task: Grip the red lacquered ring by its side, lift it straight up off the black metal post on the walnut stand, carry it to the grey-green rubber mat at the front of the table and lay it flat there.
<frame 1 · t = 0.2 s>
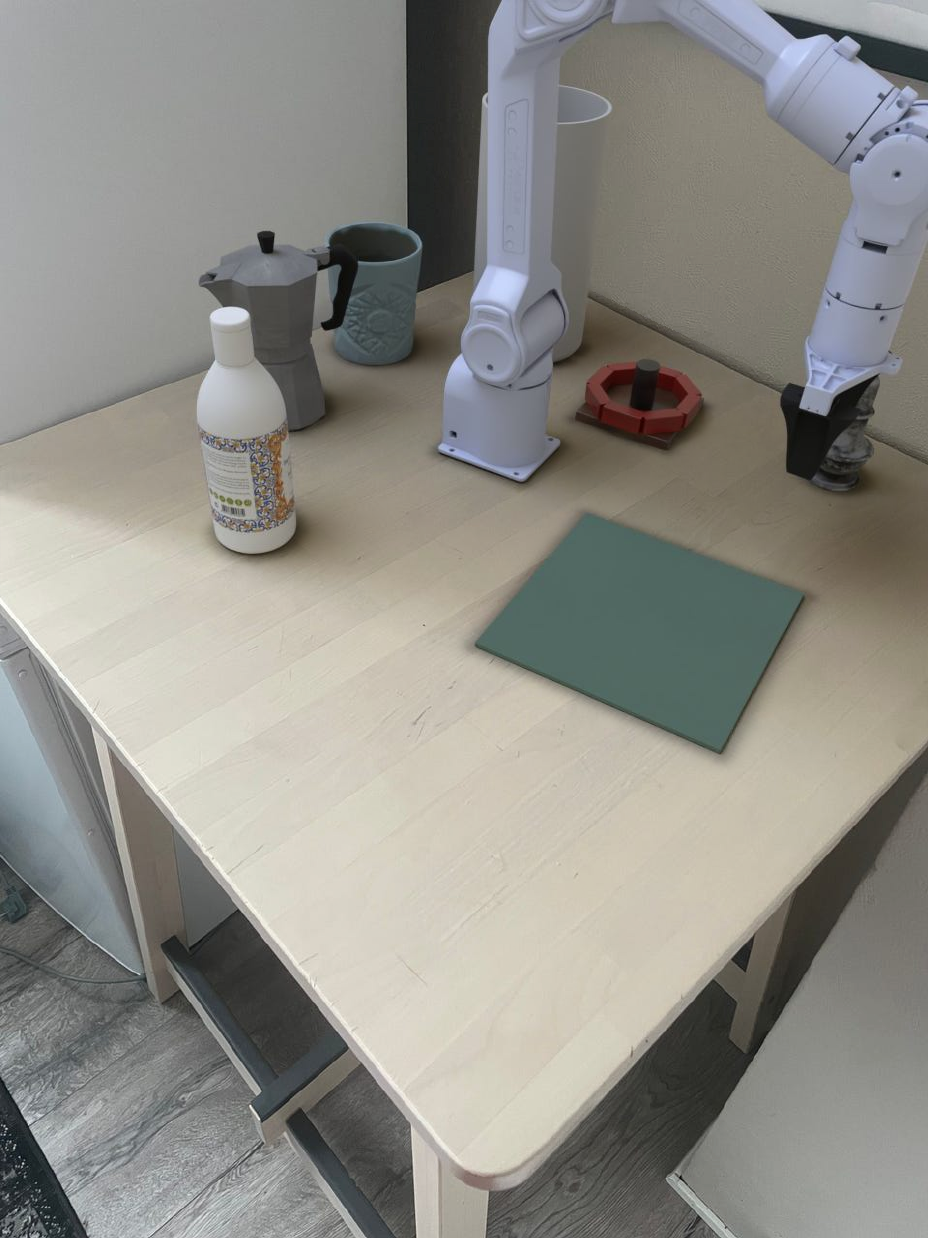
hand: (813, 451, 83), 10 cm above the table, tool pointing down, fingers open, 7 cm apart
ring: (641, 404, 105), point 1 cm above the table, touching ring holder
bath foam: (256, 533, 89), on the table
teal embossed mug: (375, 348, 114), on the table
salt shaker: (830, 477, 99), on the table
mat: (644, 620, 82), on the table
coffeepot: (292, 407, 104), on the table
cylinder vase: (525, 342, 116), on the table
ring holder: (639, 412, 106), on the table
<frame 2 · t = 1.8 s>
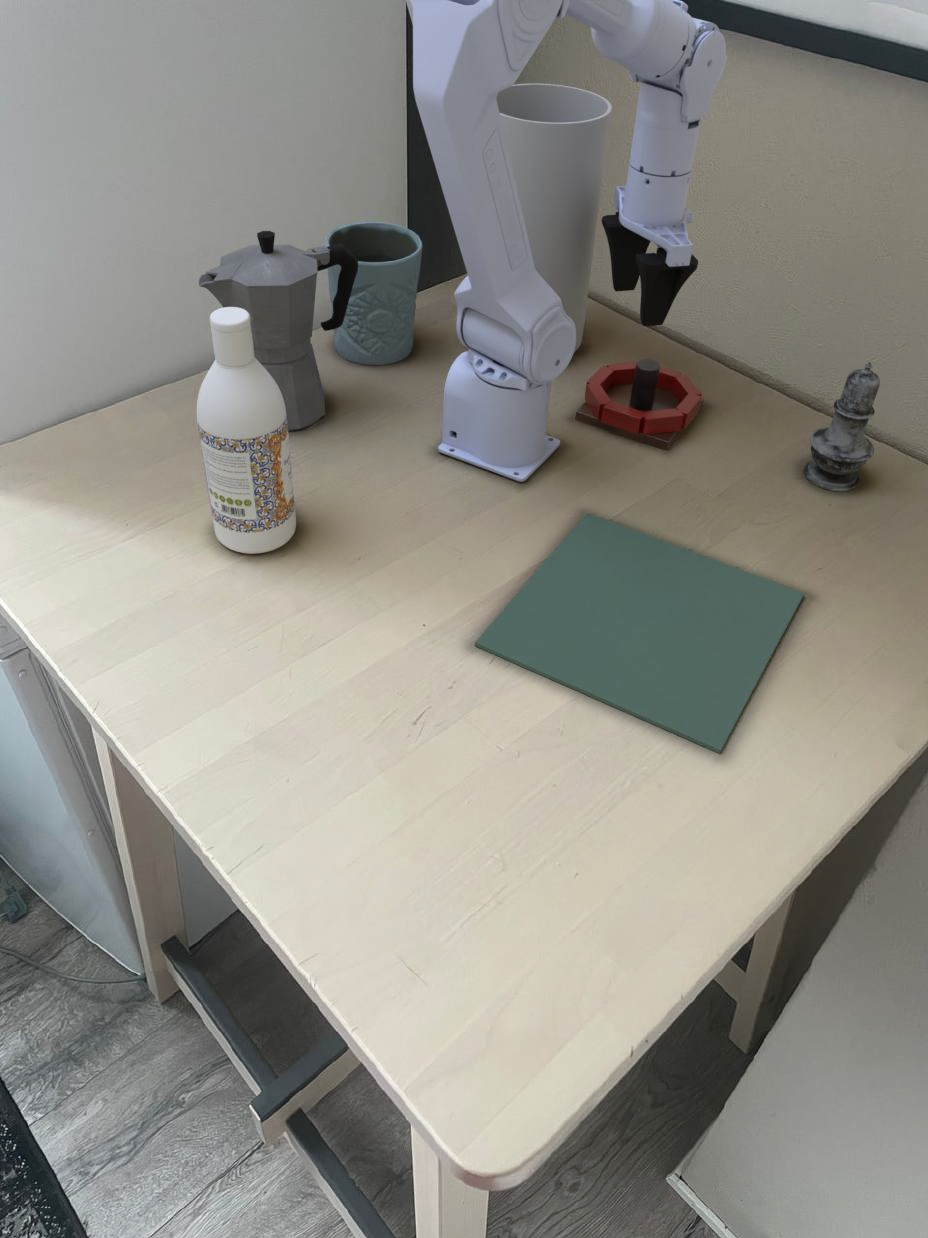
hand: (637, 306, 103), 9 cm above the table, tool pointing down, fingers open, 7 cm apart
nothing on the table moved.
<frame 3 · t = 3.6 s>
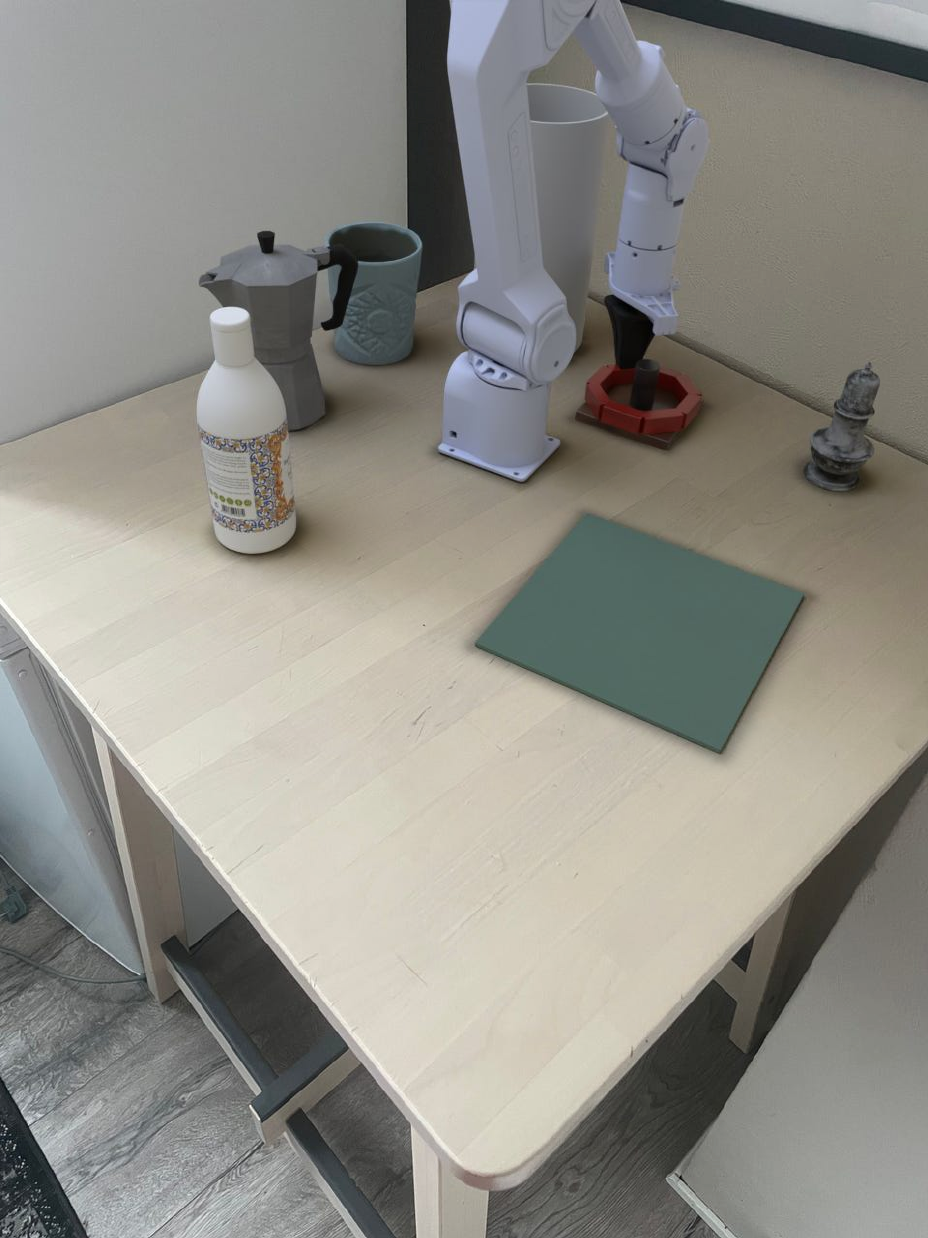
hand: (627, 366, 107), 3 cm above the table, tool pointing down, fingers closed, pressing on ring
ring: (641, 404, 105), point 1 cm above the table, touching gripper, ring holder
everything else where it was.
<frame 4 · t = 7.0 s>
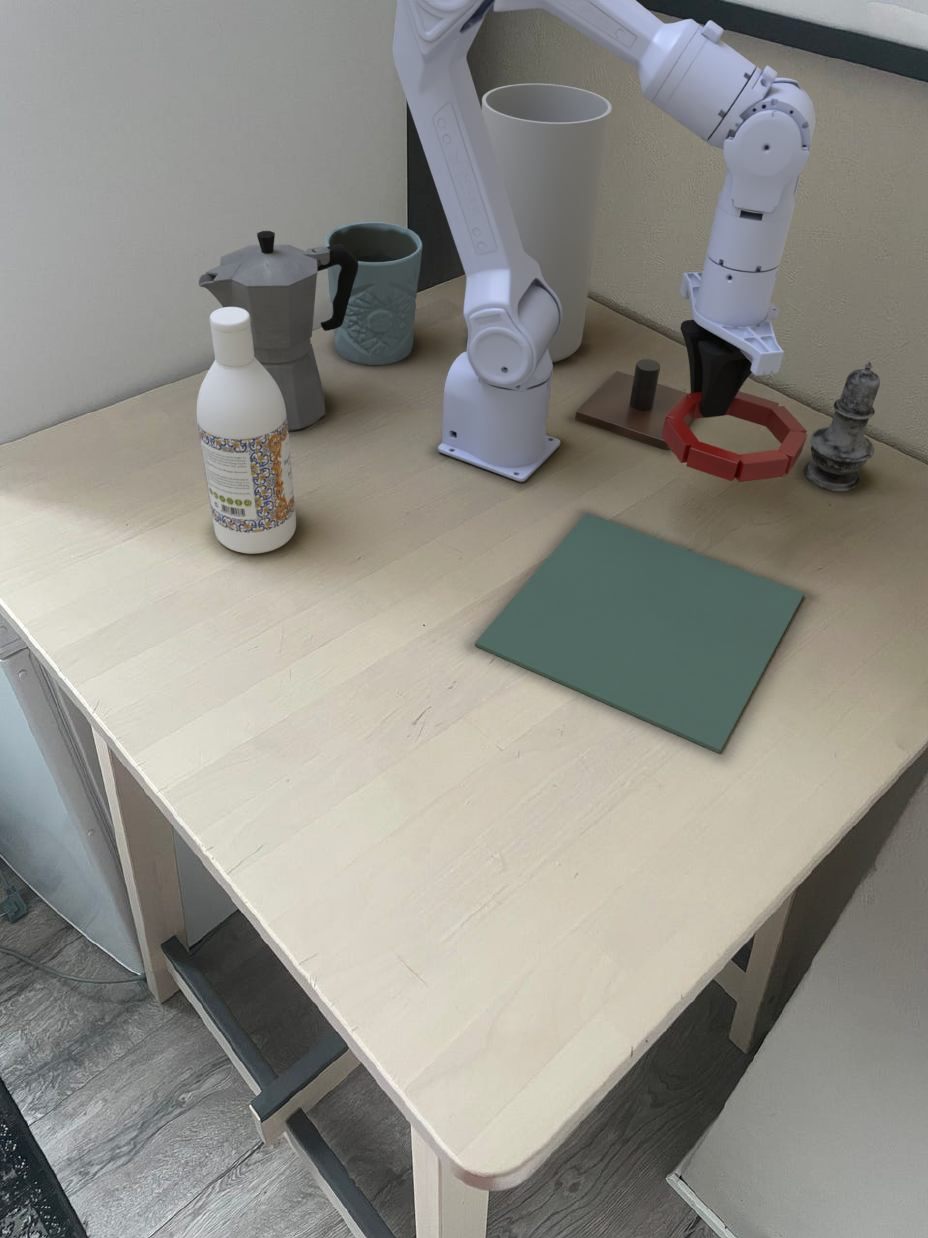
hand: (708, 408, 90), 9 cm above the table, tool pointing down, fingers closed on ring
ring: (731, 442, 87), point 8 cm above the table, touching gripper
everything else where it was.
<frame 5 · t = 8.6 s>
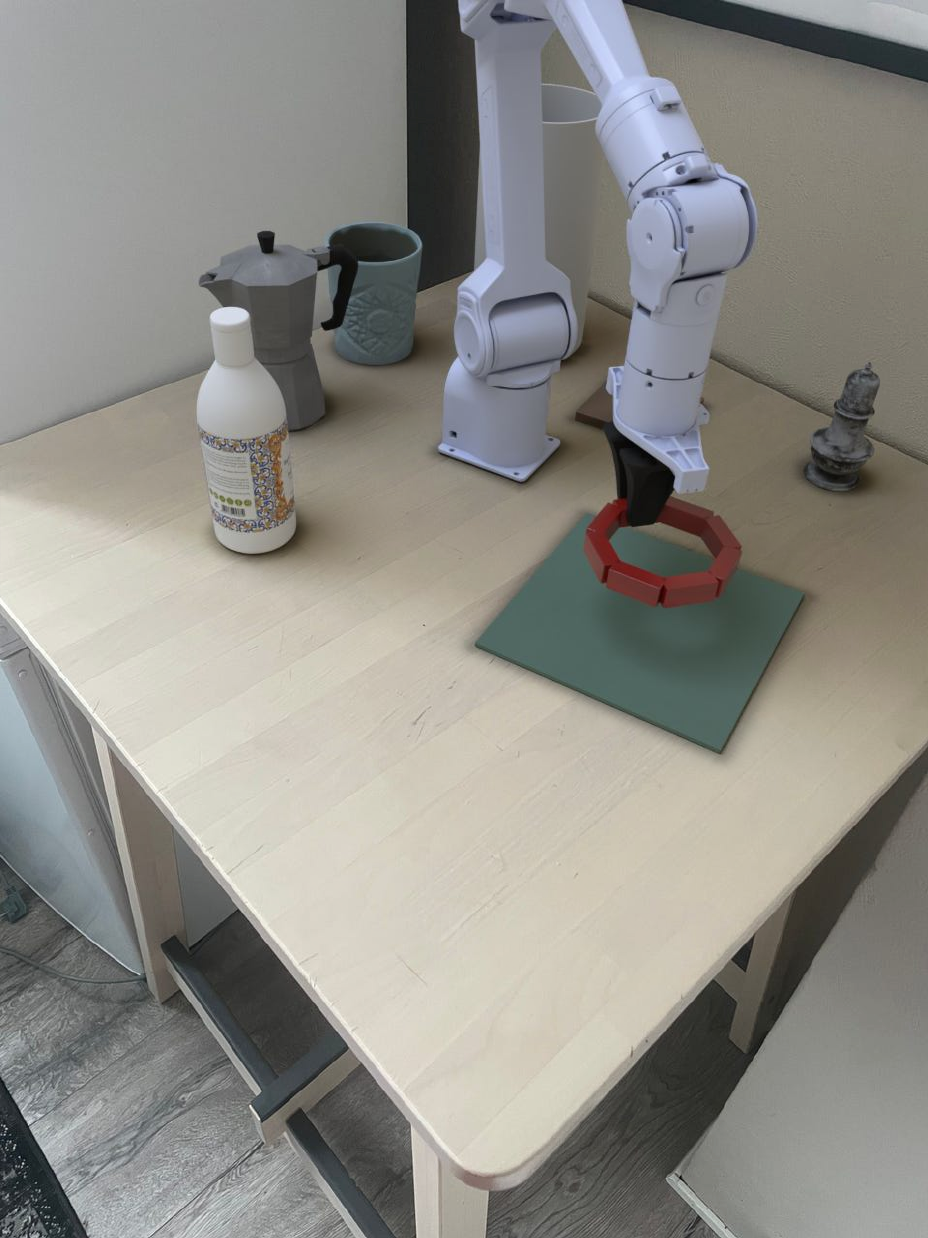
hand: (636, 515, 81), 7 cm above the table, tool pointing down, fingers closed on ring
ring: (659, 557, 78), point 6 cm above the table, touching gripper
everything else where it was.
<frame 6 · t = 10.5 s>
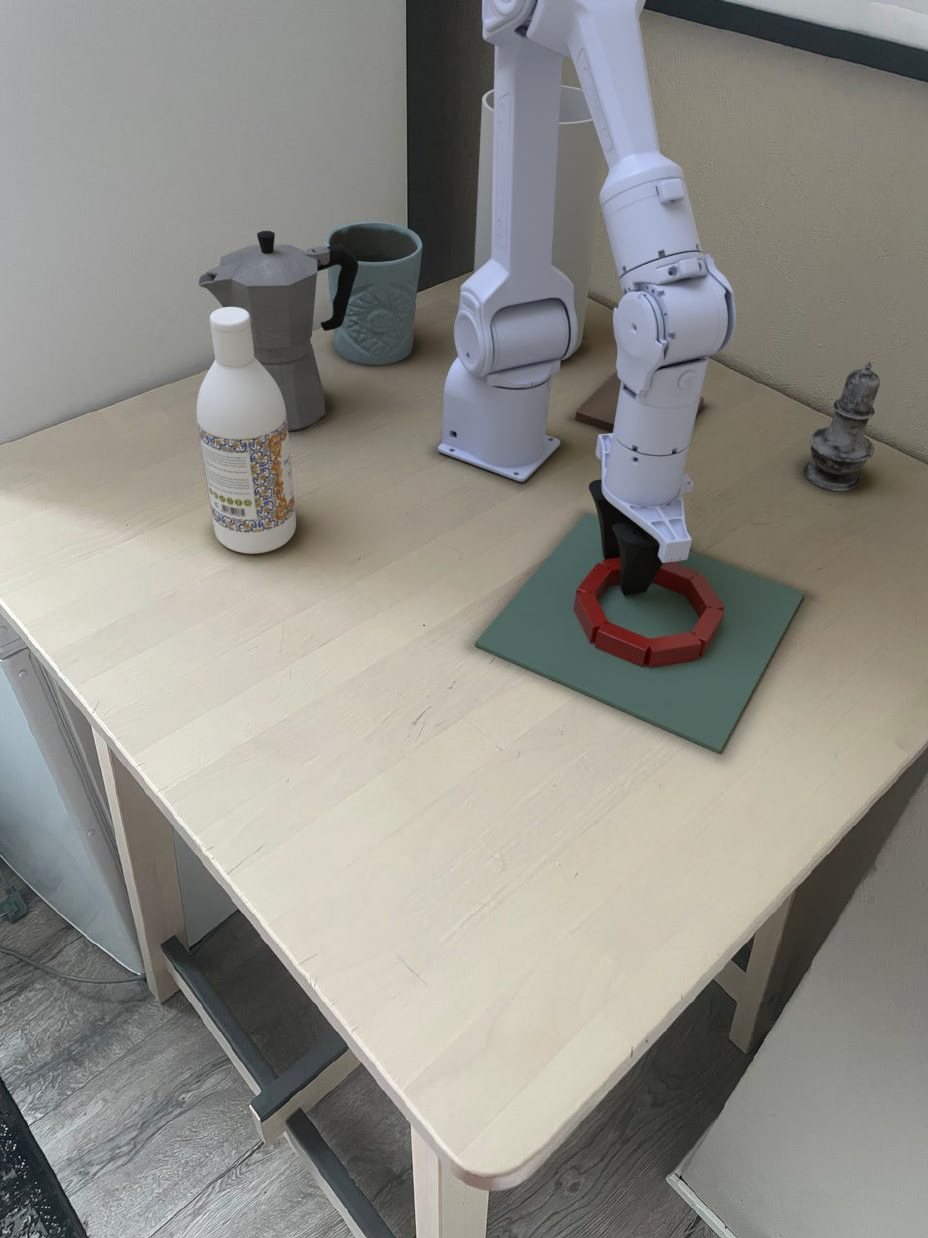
hand: (624, 575, 85), 1 cm above the table, tool pointing down, fingers open, 3 cm apart
ring: (646, 616, 82), resting on mat
everything else where it was.
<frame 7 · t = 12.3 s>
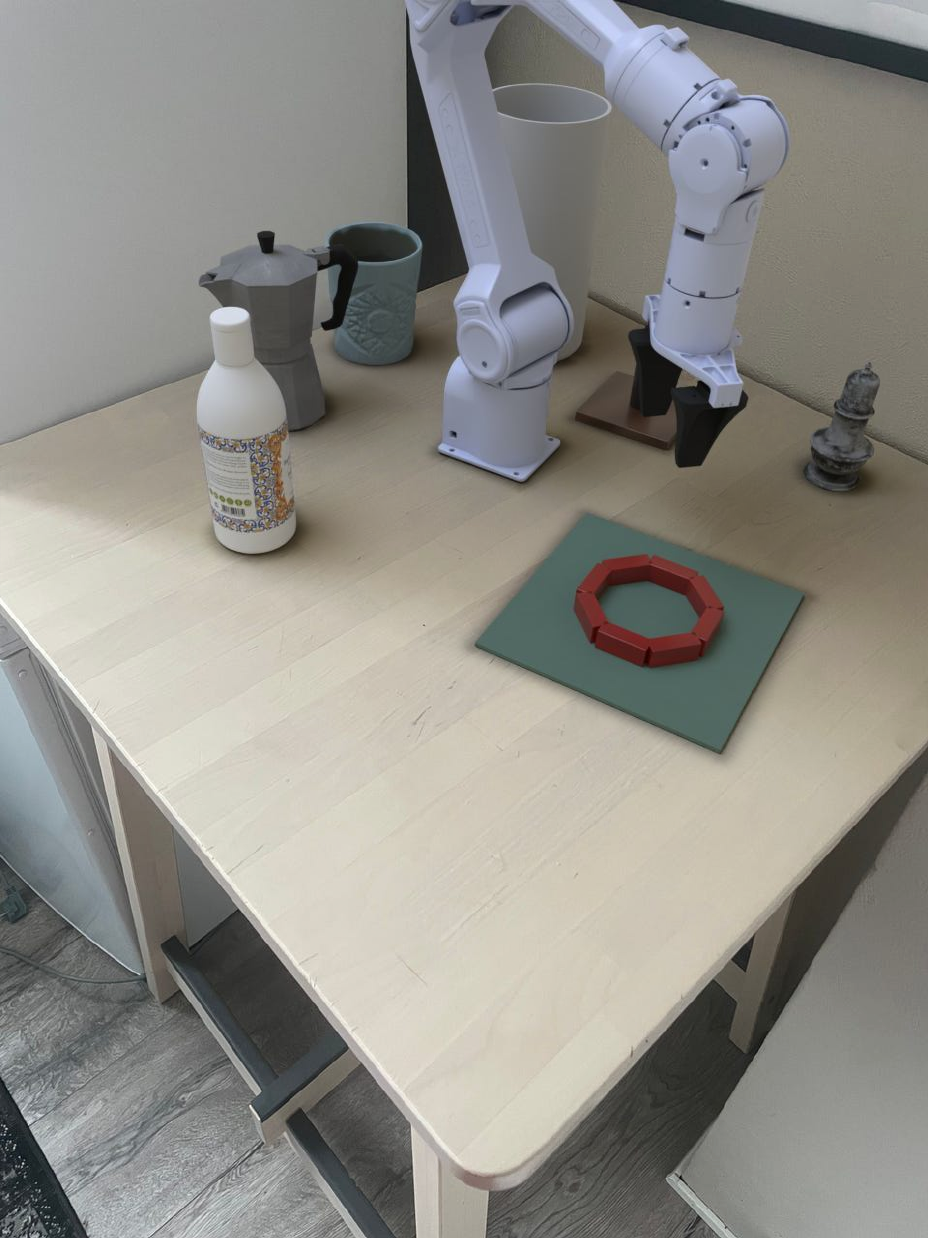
hand: (670, 438, 85), 9 cm above the table, tool pointing down, fingers open, 7 cm apart
nothing on the table moved.
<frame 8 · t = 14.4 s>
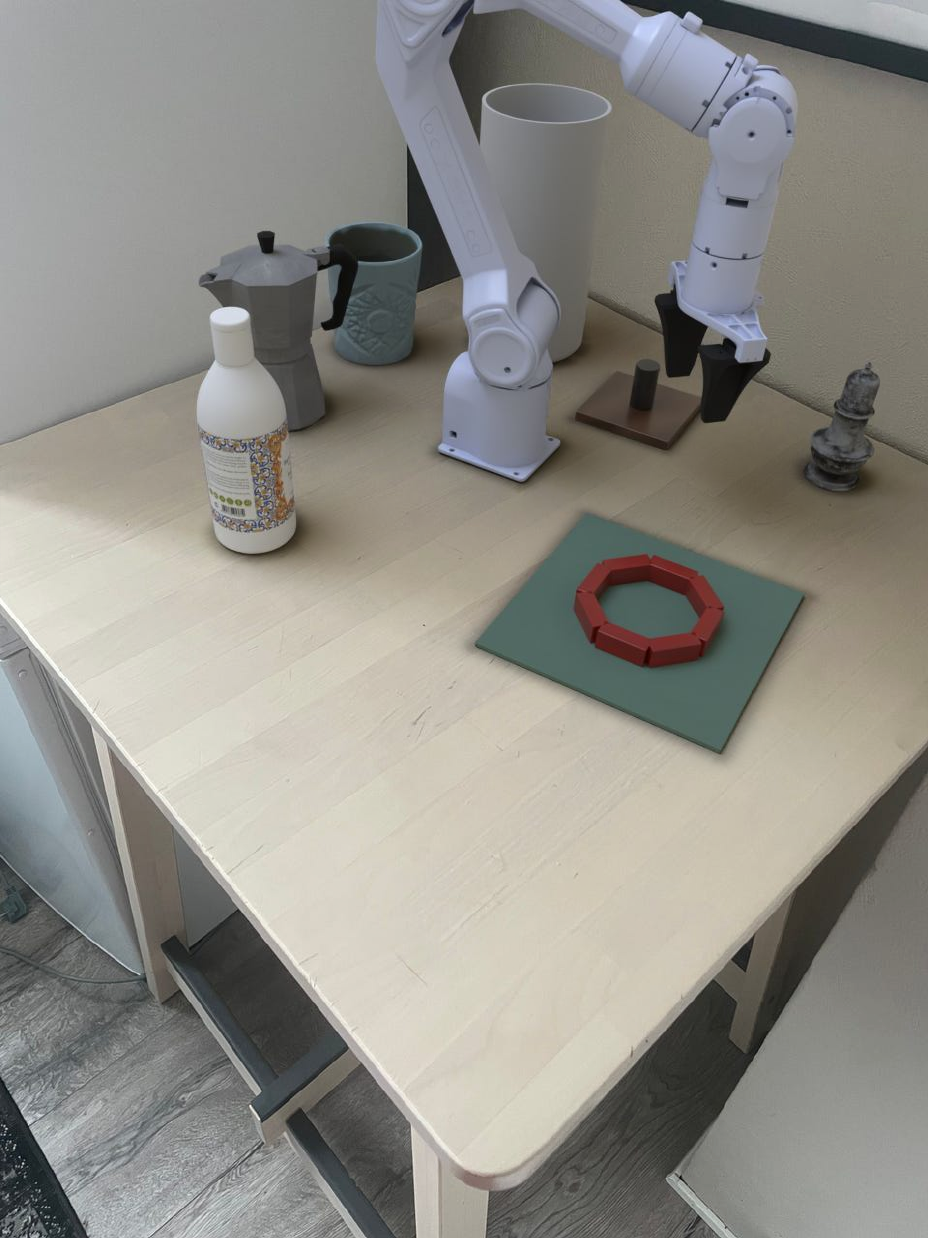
hand: (694, 397, 90), 9 cm above the table, tool pointing down, fingers open, 7 cm apart
nothing on the table moved.
at the end: ring inside the target area on the mat (0.0 cm from its centre), point 0.4 cm above the mat's base; ring tilted 0°; the gripper is holding nothing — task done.
